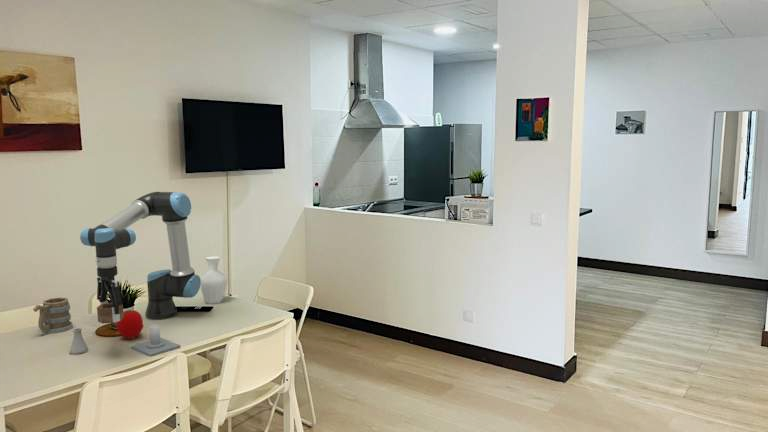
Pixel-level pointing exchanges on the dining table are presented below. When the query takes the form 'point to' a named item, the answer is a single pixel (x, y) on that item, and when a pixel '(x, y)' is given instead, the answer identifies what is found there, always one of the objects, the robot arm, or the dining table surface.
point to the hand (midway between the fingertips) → (110, 319)
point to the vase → (213, 282)
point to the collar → (107, 313)
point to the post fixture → (155, 343)
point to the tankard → (54, 315)
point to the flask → (78, 343)
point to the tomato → (130, 324)
